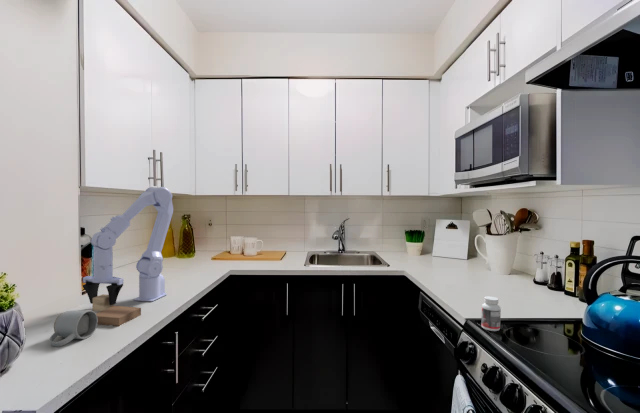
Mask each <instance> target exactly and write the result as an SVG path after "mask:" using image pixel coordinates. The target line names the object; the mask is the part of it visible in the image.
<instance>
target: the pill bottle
mask: <svg viewBox="0 0 640 413" xmlns="http://www.w3.org/2000/svg"><path fill="white" fill-rule="evenodd" d="M483 298H484V299H483V300H484V303H482V304H481V322H480V323H481V324H480V325H481V328H483V329H484V330H486V331H490V332H497V331H498V332H499V331H500V329H501V314H502V313H501V311H502V310H501V309H502V308H501V306H500V305H499V298H498V297H496V296H491V295H490V296H489V295H487V296H484V297H483Z"/></svg>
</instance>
